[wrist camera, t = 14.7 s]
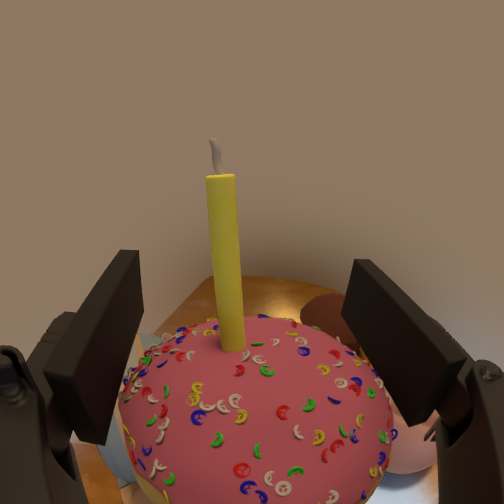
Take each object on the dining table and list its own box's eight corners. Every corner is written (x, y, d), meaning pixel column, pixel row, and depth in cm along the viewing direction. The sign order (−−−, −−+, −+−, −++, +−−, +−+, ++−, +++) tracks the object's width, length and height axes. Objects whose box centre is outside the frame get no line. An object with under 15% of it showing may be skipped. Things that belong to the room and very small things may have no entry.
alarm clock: (105, 417, 29) (66, 298, 23) (177, 406, 33) (166, 287, 27) (128, 517, 17) (55, 429, 11) (219, 499, 22) (221, 405, 15)
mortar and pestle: (433, 428, 30) (473, 370, 25) (421, 497, 20) (479, 446, 15) (359, 408, 35) (389, 346, 30) (332, 475, 25) (369, 421, 21)
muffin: (371, 355, 46) (389, 306, 42) (333, 386, 39) (352, 333, 35) (321, 324, 54) (332, 277, 50) (278, 346, 47) (288, 294, 43)
